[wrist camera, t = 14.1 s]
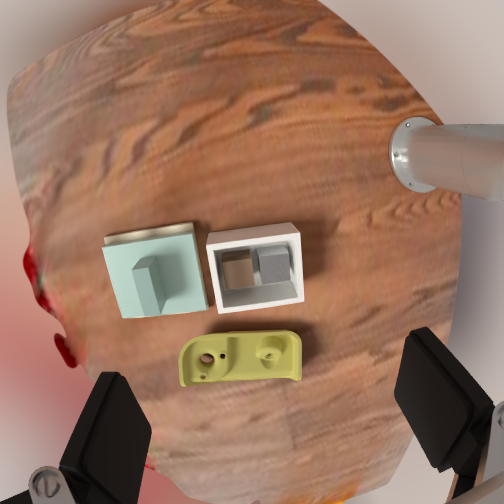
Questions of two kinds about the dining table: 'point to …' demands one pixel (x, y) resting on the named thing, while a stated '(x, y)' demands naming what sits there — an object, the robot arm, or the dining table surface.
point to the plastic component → (241, 357)
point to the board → (151, 233)
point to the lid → (156, 275)
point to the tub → (256, 267)
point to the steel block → (273, 264)
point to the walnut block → (237, 269)
